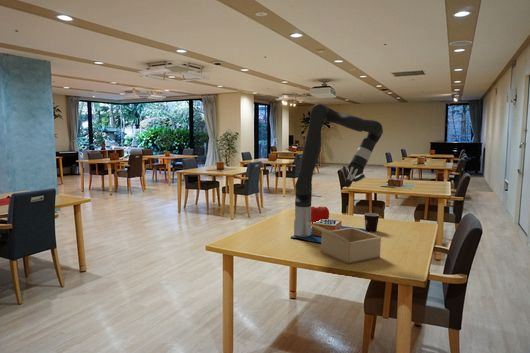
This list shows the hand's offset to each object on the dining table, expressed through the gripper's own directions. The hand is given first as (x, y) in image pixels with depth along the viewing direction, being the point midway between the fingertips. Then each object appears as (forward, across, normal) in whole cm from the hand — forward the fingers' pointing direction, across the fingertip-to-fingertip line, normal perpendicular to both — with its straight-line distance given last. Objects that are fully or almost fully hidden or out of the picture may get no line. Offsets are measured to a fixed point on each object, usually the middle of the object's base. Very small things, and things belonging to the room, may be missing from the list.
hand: (346, 186), depth 203 cm
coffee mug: (+13, +13, +47) cm, 50 cm away
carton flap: (+25, +10, -14) cm, 30 cm away
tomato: (+24, -18, +47) cm, 56 cm away
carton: (+30, +18, -3) cm, 35 cm away
